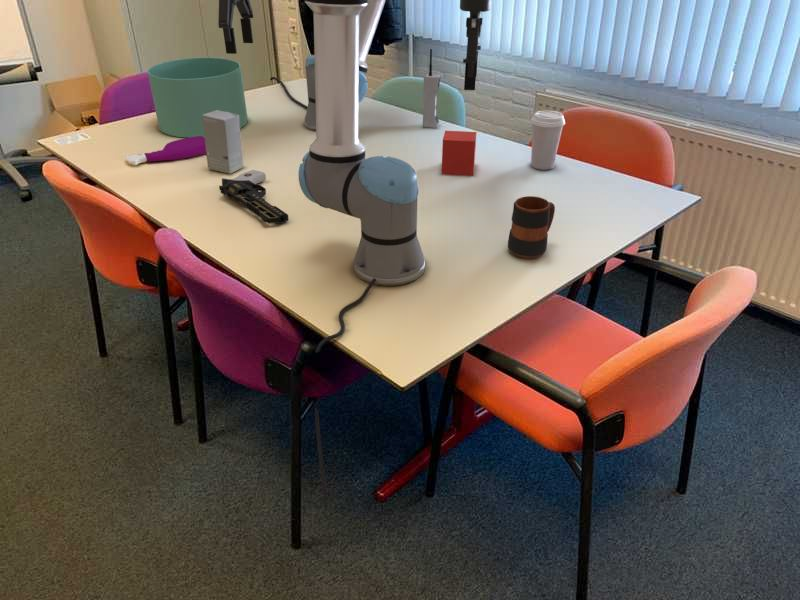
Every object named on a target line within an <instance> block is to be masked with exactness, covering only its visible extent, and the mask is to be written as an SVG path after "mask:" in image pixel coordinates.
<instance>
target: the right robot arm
mask: <svg viewBox="0 0 800 600" xmlns="http://www.w3.org/2000/svg"><path fill="white" fill-rule="evenodd" d="M304 3H305V4H306V5H307V6H308V7H309V9H310V10H311V11H312V13H313V46H314V47H313V48H314V49H313V52H314V54H313V55H315V98H316V130H315V135H316V137H315V139H314V140H313V141H312V142H311V143H310V144H309V146H308V147H309V148H308V151H307V152H306V153H305V154H304V155H303V157H302V160H301V161H302V163H300V164H299V167H298V175H297V176H298V184H299V187H300V190H301V192H302V194H303V195H304V196H305V198H307V199H308V200H309V201H310V202H312V203H314V204H317V205H319V206H320V207H321V208H324V209H330V210H333V211H336V212H339V213H341V214H344V215H348V216H351V217H354V218H356V219H359V220H360V239H359V242H358V247H357V249H356V252H355V256H354V259H353V270H354V273H355V275H356V276H357V277H358V278H359V279H360V280H362V281H364V282H366V283H369V284H368V285H367V286H366V288H365V289H364V291H363V292H362V294H361V296H360V297H358V298H357V299H356V300H354V301H353V302H351V303H349V304H347V305H345V306H344V307H342V308H341V310H340V311H339V313H338V321H339V325H340V329H339V331H338V332H336V333H334V334H332V335H329V336H325V338H324V339H322V340H320V342H319V343H318V344H317V347H316V349H315V351H314V352H315V353H319V352H320V351H321V349H322V347H323V345H324V344H326V343H327V342H329V341H331V340H335V339H337V338H339V337H341V336H342V335H343V334H344V332H345V329H346V324H345V321H344V318H343V317H344V314H345V312H346V311H347V310H349V309H350V308H352V307H353V308H354V306H356V305H358V304H359V303H361V302H362V301H363V300H364V299H365V298H366V297H367V295H368V293H369V292H370V290H371V289H372V287H373V286H374V285H376V286H382V287H395V286H402V285H406V284H410V283H413V282H415V281H417V280H418V279H420V278H421V276H423V274H424V273H425V270H426V260H425V255H424V252H423V250H422V247H421V244H420V241H419V238H418V198H419V197H418V196H419V185H418V175H417V173H416V170H415V168H413V166H412V165H410V163H408V162H406V161H405V160H403V159H401V158H400V159H399V158H397V157H392V156H383V155H378V156H377V155H375V156H370V157H367V158H366V146H365V145H364V144H363V142H361V140H359V103H358V99H359V14H360V12H361V11H362V10H363V9H364V8H365V7H366V6H367V4H368V0H304ZM459 9H460V10H461V11H463V12H469V17H466V19H465V27H466V30H465V31H466V32H465V36H466V38H467V42H466V57H465V58H463V59H462V63H463V64H465V67H464V84H463V85H464V86H463V91H475V90H476V80H477V75H478V74H477V73H478V60H479V59H478V57H479V51H481V48H482V45H479V44H480V42H479V39H480V38H481V31H482V27H483V20H484V19H483V17H481V13H487V12H489V11H490V10H491V9H492V0H459ZM314 417H315V430H316V431H315V432H316V442H317V452H318V460H319V469H320V478H321V486H322V488H321V489H322V498H323V509H324V511H327V510H328V509H329V507H328V506H329V505H328V494H327V485H326V475H325V467H324V458H323V457H324V456H323V447H322V438H321V427H320V412H319V408H317V406H314Z"/></svg>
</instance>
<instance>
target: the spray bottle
mask: <svg viewBox="0 0 800 600" xmlns="http://www.w3.org/2000/svg"><path fill="white" fill-rule="evenodd" d="M202 155H207V154H206V144H205V137H203V136H196V137H190V138H185V137H184V138H180V139H176V140H172V141H170V142H168V143H166V144H165V145H164V146H163V148H162V149H161V150H156V151H152V152H145V153H143V152H140V153H138V154H134V155H133V154H124V159H125V160H126V162H128V163H129V164H130V165H132V166H137V165H138V164H139V165H140V164H142V163H146V162H158V161H161V162H162V161H177V160H185V159H188V158H194V157H198V156H202Z"/></svg>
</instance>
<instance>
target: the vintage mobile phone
mask: <svg viewBox="0 0 800 600" xmlns="http://www.w3.org/2000/svg"><path fill="white" fill-rule="evenodd" d="M432 59H433V49H432V48H430V49H429V66H428V67H429V68H428V73H426V74H425V75H424V77H423V89H422V90H423V91H422V93H423V95H422V97H423V99H422V127H423V128H430V129H438V127H439V124H440V119H438V116H437V113H438V112H437V109H438V108H437V107H438V93H439V90H440V84H441V83H440V82H441V74H435V73H433V60H432Z"/></svg>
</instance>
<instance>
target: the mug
mask: <svg viewBox="0 0 800 600" xmlns="http://www.w3.org/2000/svg"><path fill="white" fill-rule="evenodd" d="M555 213H556V207H555V204H554V203H553V202H551V201H548V200H547V199H546V198H543V197H539V196H531V195H528V196H527V195H526V196H521V197H518V198H517V199H515V201H514V202H513V208H512V213H511V226H510V227H511V228H510V230H509V232H508V233H509V234H508V240H507V248H508V250H509V252H510V253H511V254H512V255H513V256H515V257H518V258H521V259H528V260H529V259H531V260H533V259H537V258H540V257H542V256H543V255H544V254H545V253H546V251H547V247H548V240H549V239H548V238H549V235H548V233H549V231H550V229H551V226H552V224H553V220H554V216H555Z"/></svg>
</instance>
